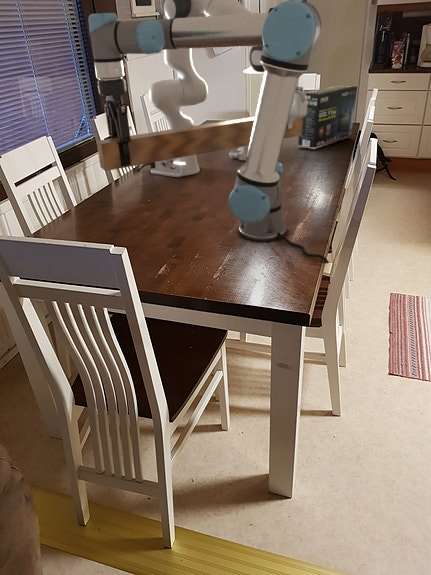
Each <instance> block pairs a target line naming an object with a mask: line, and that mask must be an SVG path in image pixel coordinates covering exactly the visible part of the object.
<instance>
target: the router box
mask: <svg viewBox="0 0 431 575" xmlns="http://www.w3.org/2000/svg"><path fill="white" fill-rule="evenodd" d="M305 92H306V97H307V114H306V115H305V117H303V123H302V135H301V136H297V146H298V145H302V146H307V147H317V146H320V145H323V144H325V143H328V142H331V141H333V140H336V139H338V138H341V137H344V136H347V135H351V136H352V133H353V132H352V131H353V125H354V115H355V109H356V99H357V93H358V86H356V85H350V84H339V85H338V84H337V85H334V86H328V87H324V88H318V89H314V90H309V91H305ZM311 151H313V150H312V149H311Z"/></svg>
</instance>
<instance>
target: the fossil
mask: <svg viewBox="0 0 431 575" xmlns="http://www.w3.org/2000/svg"><path fill="white" fill-rule="evenodd" d="M248 147H249V145H246V146H240V147H237V148H238V149H232V150H230V152H229V153H228V155H229V158H230V159H231V160H239V161H244V160H245V161H246V156H247V152H248Z"/></svg>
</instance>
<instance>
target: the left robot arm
mask: <svg viewBox="0 0 431 575" xmlns="http://www.w3.org/2000/svg"><path fill="white" fill-rule="evenodd" d="M162 12H163V16H164V18H163V19H175V18H188V17H204V16H220V15H237V14H253V12H251V10H249V9H248V8H246V7H245V5H243V4H242V3H240V1H238V0H163V1H162ZM262 49H263V46H250V50H249V53H248V61H249V64H250V67H251V68H252V70H253V71H255V72H257V73H264V68H263V66H262V64H261V62H260V59H261V54H262ZM163 61H164V64H165V65H166V66H167V67H168V68H169V69H171V70H173V71H175V72H176V73H177V78H171V79H161V80H158V81H155V82H153V83H151V85H150V87H149V89H148V98H149V101H150V103H151V104H152V106H153V107H154V108H156V109H157V110H159V111H160V112H161V114H162V116H164V118H165V121H166V124H167V130H171V129H178V128H185V127H191V126H195V124H194V120H193V119H192V118H191V117H190V116H188V115H186V114H183V112H182V111H181V108H182V107H189V106H196V105H199V104H202V103H204V102H205V101H206V100H207V98H208V94H209V89H208V88H209V87H208V85H207V83H206V81H205V80H204V79H203V78H202V77H201V76H200V75H199V74H198V73H197V72H196V69H195V67H194V63H193V56H192V49H171V50H163ZM306 92H307V91H306V90H305V89H304V87H303V86H300V78H299V79H298V83H297V87H296V91H295V95H294V99H293V103H292V107H291V111H290V115H289V120H288V123H287V127H286V128H288V129H291V128H292V124H293V122H294V120H295V117H297V118H299V117H305V115H306V114H307V97H306ZM147 166H150V174H151V175H159V176H165V177H172V178H181V177H185V176H191V175H195V174H198V173H199V172H200V171H201V169H200V166H199V163H198V157H197V154H196V155H191V156H185V157H180V158H174V159H169V160H163V161H158V162H152V163H147V164H141V166H140V167H139V168H136V171H142V170H143V168H144V167H147Z"/></svg>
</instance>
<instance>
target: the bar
mask: <svg viewBox="0 0 431 575" xmlns="http://www.w3.org/2000/svg"><path fill="white" fill-rule="evenodd" d="M254 118H255V116H251V117H245V118H244V117H243V118H238V119H231V120H225V121H218V122H212V123H211V122H210V123H205V124H198V125H194V126H191V127H185V128H178V129H171V130H168V129H165V130H159V131H153V132H145V133H140V134H132V135H130V138H131V141H130V142H129V143H128V146H129V153H130V161H131V165H127V166H122V165H121V159H120V152H119V145H118V144H117V142H119V138H107V139H100V140H96V141H95V142H96V147H97V154H98V159H99V166H100V168H101V169H102V170H103V171H105V172H108V171H113V170H120V169H124V168H130V167H136V166H140V165H141V166H142V165H144V164H147V163H152V162H158V161H163V160H169V159H174V158H180V157H185V156H191V155H196V156H197V155H201V154H206V153H211V152H213V153H214V152H217V151H223V150H228V149H234V148H240V147H242V146H243V147H244V146H246V145H249V142H250V137H251V132H252V128H253V123H254ZM288 120H289V119H288ZM302 123H303V117H299V118H297V117H295V120H294V122H293V124H292V128H291V129H288V128H286V131H285V135H284V139H288V138H294V137H295V138H296V137H298V136H301V135H302Z"/></svg>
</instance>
